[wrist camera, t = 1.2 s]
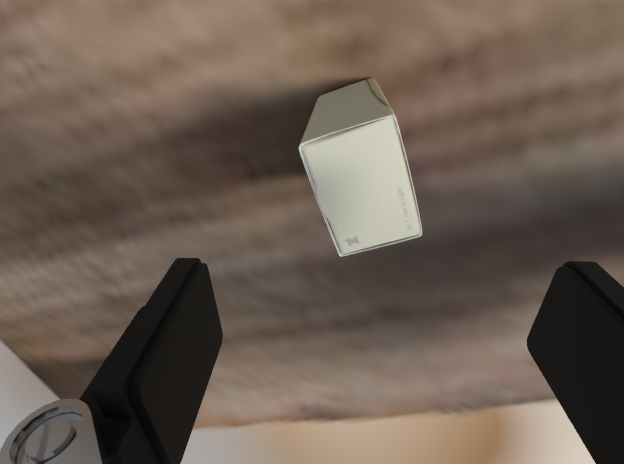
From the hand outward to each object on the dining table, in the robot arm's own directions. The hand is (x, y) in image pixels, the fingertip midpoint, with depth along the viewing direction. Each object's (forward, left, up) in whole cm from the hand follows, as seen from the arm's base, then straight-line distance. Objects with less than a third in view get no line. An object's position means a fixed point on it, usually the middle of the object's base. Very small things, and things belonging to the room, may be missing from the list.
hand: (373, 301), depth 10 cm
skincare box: (0, 0, -19) cm, 19 cm away
